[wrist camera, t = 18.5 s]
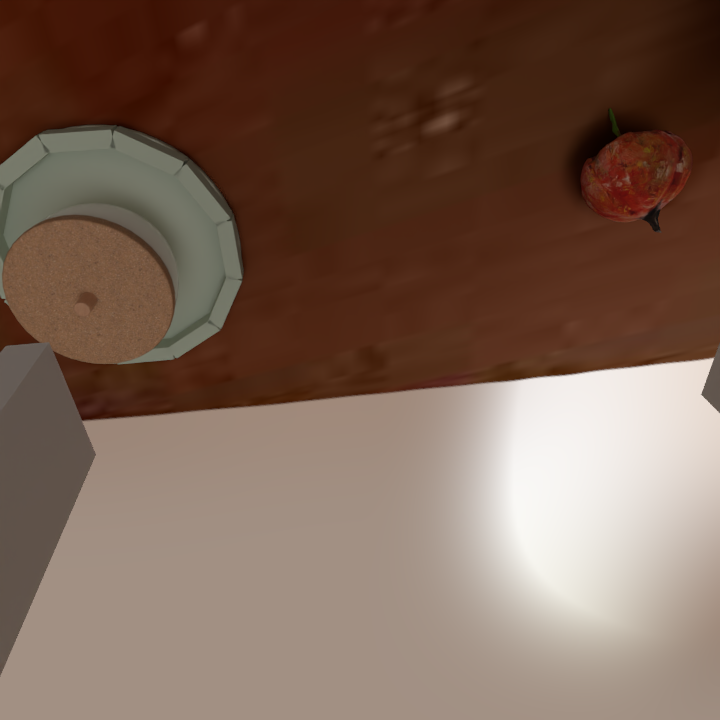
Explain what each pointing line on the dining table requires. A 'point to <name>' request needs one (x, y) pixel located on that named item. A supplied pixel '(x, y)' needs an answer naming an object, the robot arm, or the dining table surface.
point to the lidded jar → (93, 283)
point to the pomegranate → (636, 175)
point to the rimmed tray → (142, 196)
